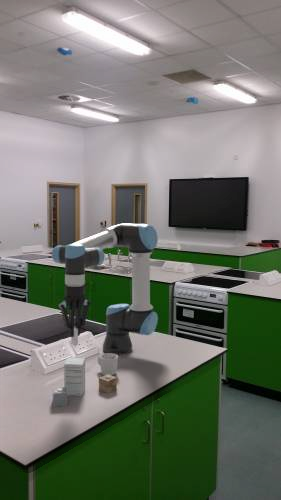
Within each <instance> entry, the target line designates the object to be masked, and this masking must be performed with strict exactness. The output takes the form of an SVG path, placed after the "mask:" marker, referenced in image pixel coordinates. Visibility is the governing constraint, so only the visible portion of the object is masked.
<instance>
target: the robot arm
mask: <svg viewBox="0 0 281 500" xmlns="http://www.w3.org/2000/svg"><path fill="white" fill-rule="evenodd" d="M158 240H159V239H158V232H157V229H155V227H154V226H153V225H151V224H146V223H127V222H126V223H125V222H124V223H118V224H116V225H111V226H109V227H106V228H104V229H102V231H101V232H100V233H99V232H98V233H97V234H95V235H91V236H89V237H86V238H83V239H81V240H78V241H76V242H73V243H70V244H67V245H62V244H61V245H56V246H54V248H53V249H52V251H51V258H52V261H53V262H54V263H56V264H60V265H64V266H65V267H64V269H65V271H64V284H65V286H64V298H63V301H62V302H60V303H58V307H59V309H60V312H61V316H62V320H63V324H64V327H65V328H67V329H68V330H69V332H68V333H69V334H68V335H69V337H70V339H71V340H70V342H71V345H72V346H73V347H75V346H78V345H79V341H78V340H79V337H80V335H81V328H82V327H83V326H85V324H86V319H87V315H88V310H89V308H90V305H91V301H90V300H87V299H86V296H85V294H86V293H85V291H86V285H85V283H86V280H85V279H86V268H91V267H98V266H100V265H102V264H103V263H104V261H105V252H104V251H103V250H105V249H112V248H119V247H121V248H128V253H129V254H130V255H131V279H132V280H131V285H132V286H131V294H132V295H131V299H132V301H131V303H132V304H131V305H130V304H128V303H117V304H111V305H109V306H108V307H107V308H106V312H105V313H106V314H105V317H106V318H105V321H106V322H105V324H106V326H105V327H106V328H105V329H106V330H105V331H106V332H105V337H104V341H103V344H102V351H103V352H104V353H105V354H106V353H113V354H116V355H124V354H128V353H131V352H132V351H133V344H132V340H131V336H130V333H132V334H137V335H141V336H142V335H143V336H151V334H153V333H154V332H155V330H156V328H157V325H158V320H159V317H158V313H157V312H155V311H154V306H153V305H152V304H151V289H150V288H151V282H150V281H151V277H150V275H151V274H150V273H151V270H150V267H151V265H150V263H151V261H150V257H151V255H152V253H153V251H154V249H156V247H157V244H158ZM66 307H68V311H67V308H66Z"/></svg>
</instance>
